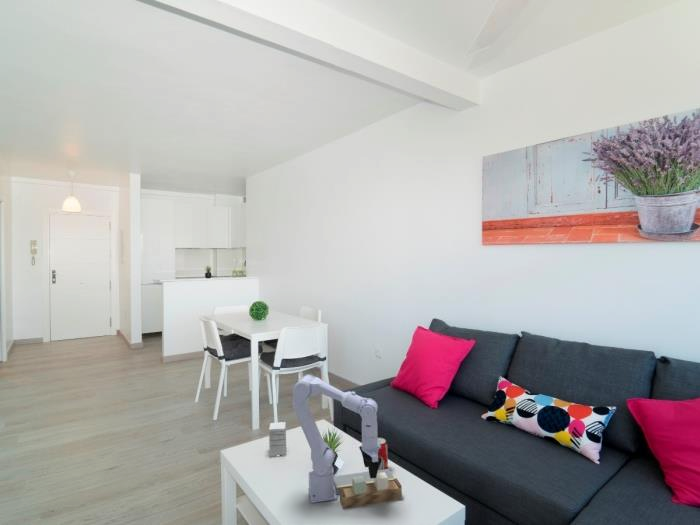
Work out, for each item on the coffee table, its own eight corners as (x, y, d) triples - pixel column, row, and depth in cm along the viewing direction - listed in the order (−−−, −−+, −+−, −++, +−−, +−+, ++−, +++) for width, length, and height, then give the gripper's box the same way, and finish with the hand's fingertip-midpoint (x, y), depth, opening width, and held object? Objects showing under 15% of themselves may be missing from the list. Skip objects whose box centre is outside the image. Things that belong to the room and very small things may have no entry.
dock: (336, 494, 142) (336, 487, 142) (333, 482, 150) (333, 476, 150) (395, 486, 147) (395, 479, 147) (388, 474, 154) (388, 468, 154)
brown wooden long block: (342, 510, 133) (342, 495, 133) (339, 501, 138) (339, 487, 138) (401, 500, 139) (401, 485, 139) (396, 492, 143) (396, 478, 143)
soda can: (387, 474, 155) (386, 445, 155) (369, 473, 156) (369, 443, 156) (388, 465, 162) (388, 437, 162) (372, 464, 163) (371, 436, 163)
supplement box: (270, 449, 178) (270, 422, 178) (286, 448, 179) (286, 421, 179) (269, 457, 170) (268, 429, 170) (285, 456, 171) (285, 428, 171)
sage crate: (355, 494, 135) (355, 483, 135) (352, 488, 139) (352, 477, 139) (366, 492, 136) (366, 481, 136) (362, 486, 140) (362, 475, 140)
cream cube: (377, 490, 137) (377, 479, 137) (374, 484, 141) (374, 473, 141) (388, 489, 138) (387, 477, 138) (384, 482, 142) (384, 472, 142)
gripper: (386, 442, 132) (387, 481, 132) (374, 425, 146) (375, 460, 146) (366, 444, 131) (367, 484, 131) (356, 427, 145) (357, 463, 145)
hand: (370, 472), depth 138 cm, fingers open, 7 cm apart
